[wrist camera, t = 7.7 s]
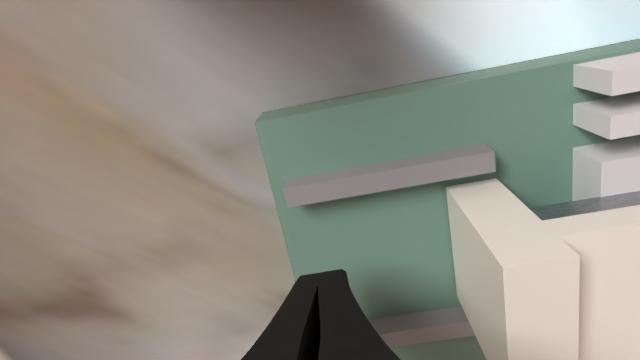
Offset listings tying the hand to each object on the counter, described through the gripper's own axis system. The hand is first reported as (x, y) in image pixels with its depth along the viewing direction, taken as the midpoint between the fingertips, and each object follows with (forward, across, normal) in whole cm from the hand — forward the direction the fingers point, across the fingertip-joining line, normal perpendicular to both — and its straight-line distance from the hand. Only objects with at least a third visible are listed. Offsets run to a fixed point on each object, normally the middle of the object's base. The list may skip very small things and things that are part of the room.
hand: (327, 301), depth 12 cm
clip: (+2, -6, 0) cm, 7 cm away
